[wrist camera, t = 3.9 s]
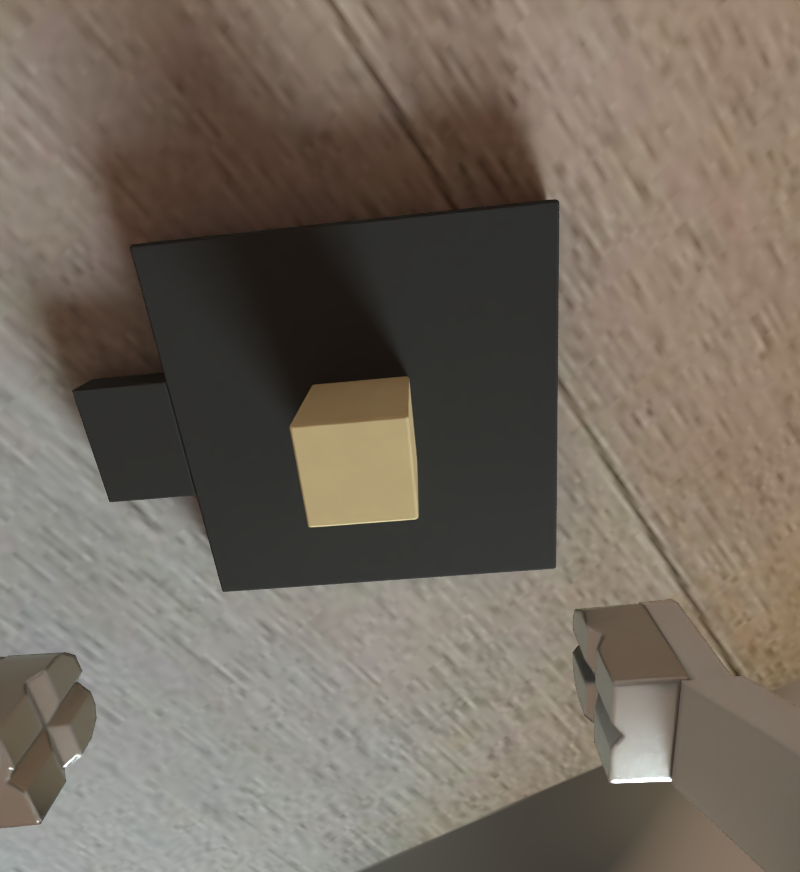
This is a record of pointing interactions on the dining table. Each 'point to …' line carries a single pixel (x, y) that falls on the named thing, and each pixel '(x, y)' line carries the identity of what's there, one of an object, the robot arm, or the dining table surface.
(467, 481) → the tab pad
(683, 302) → the dining table surface
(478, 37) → the dining table surface
